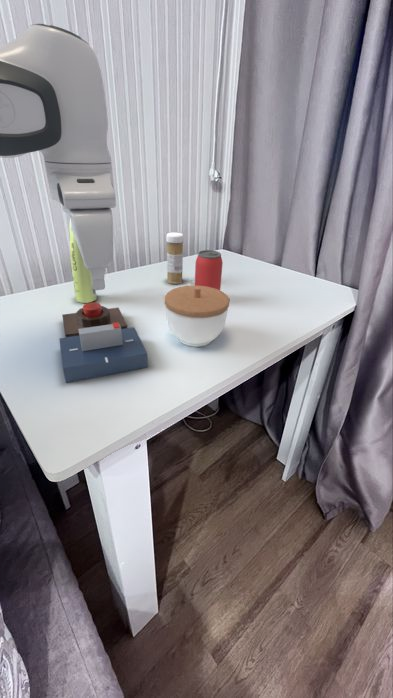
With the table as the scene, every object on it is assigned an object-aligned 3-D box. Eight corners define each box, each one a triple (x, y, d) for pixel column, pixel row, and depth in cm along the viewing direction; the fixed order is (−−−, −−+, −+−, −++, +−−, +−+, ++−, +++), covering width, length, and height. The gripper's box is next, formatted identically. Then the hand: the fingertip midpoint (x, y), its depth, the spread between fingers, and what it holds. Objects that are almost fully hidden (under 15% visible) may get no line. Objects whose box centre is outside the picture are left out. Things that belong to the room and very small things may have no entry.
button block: (66, 344, 65) (63, 326, 63) (63, 323, 72) (60, 306, 70) (127, 334, 69) (126, 317, 67) (119, 316, 76) (117, 300, 74)
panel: (66, 385, 55) (62, 369, 53) (62, 350, 63) (59, 335, 61) (148, 369, 59) (148, 354, 58) (134, 338, 68) (133, 324, 66)
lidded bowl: (201, 318, 77) (203, 272, 71) (237, 342, 68) (244, 292, 62) (153, 333, 70) (152, 283, 64) (188, 361, 62) (189, 308, 56)
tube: (69, 301, 82) (54, 217, 71) (82, 293, 86) (70, 213, 75) (88, 305, 80) (76, 220, 69) (101, 297, 84) (91, 216, 73)
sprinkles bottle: (180, 278, 97) (181, 231, 90) (184, 284, 94) (185, 235, 86) (165, 279, 96) (164, 231, 89) (168, 285, 93) (167, 236, 85)
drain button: (84, 318, 67) (83, 311, 66) (83, 311, 69) (81, 303, 68) (103, 316, 68) (102, 308, 67) (100, 309, 71) (99, 301, 70)
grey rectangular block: (82, 351, 58) (79, 333, 56) (81, 345, 59) (78, 327, 57) (122, 344, 60) (121, 326, 58) (120, 339, 62) (118, 321, 59)
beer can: (223, 303, 84) (228, 256, 78) (199, 306, 82) (202, 258, 75) (213, 293, 89) (216, 248, 83) (190, 296, 87) (191, 250, 81)
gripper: (54, 176, 54) (69, 260, 62) (63, 196, 38) (81, 305, 46) (94, 176, 56) (103, 257, 64) (117, 195, 40) (126, 299, 48)
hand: (94, 277), depth 55 cm, fingers open, 8 cm apart
